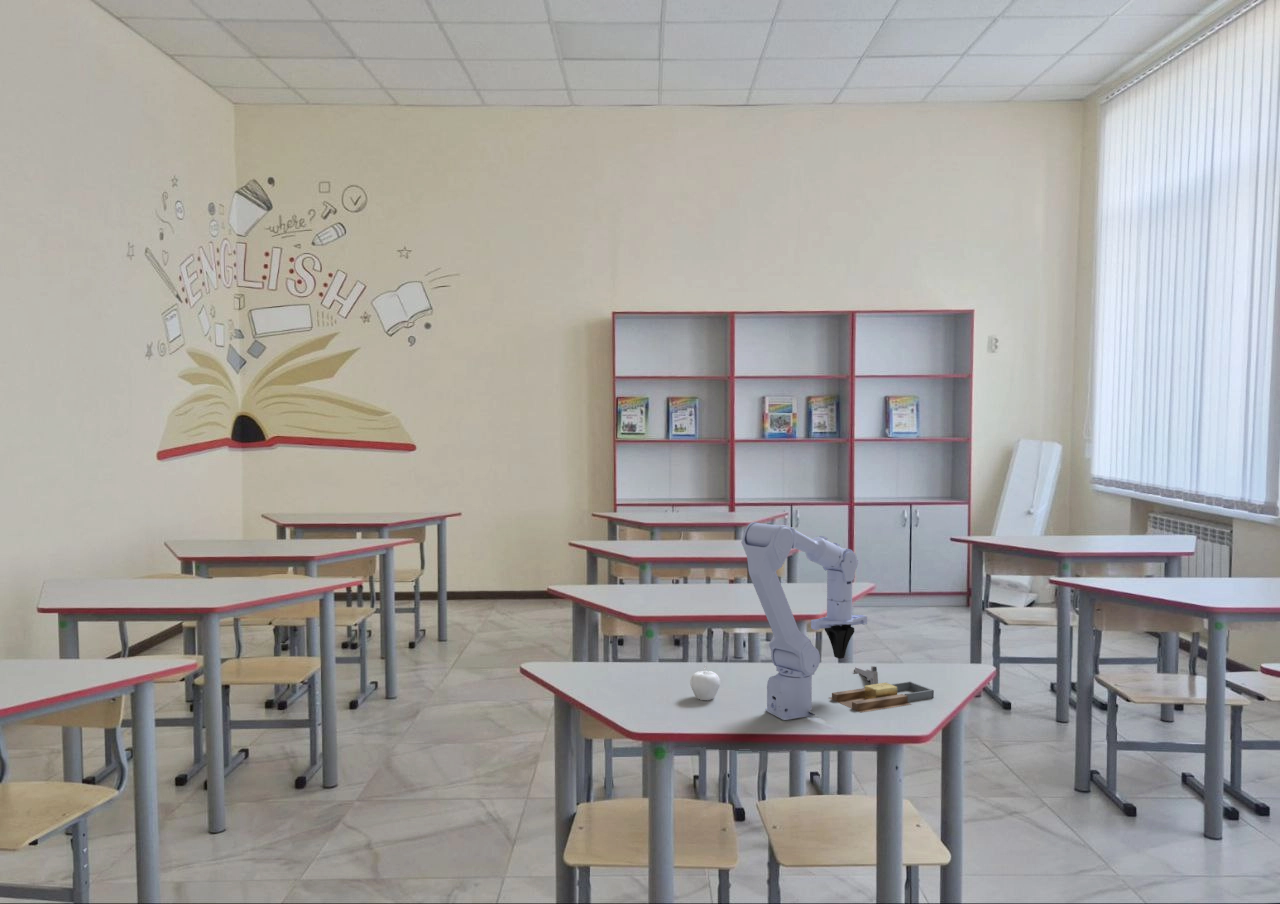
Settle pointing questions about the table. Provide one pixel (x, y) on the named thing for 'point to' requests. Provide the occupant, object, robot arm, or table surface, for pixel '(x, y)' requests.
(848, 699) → the slot board
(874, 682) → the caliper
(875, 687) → the block
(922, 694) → the tray
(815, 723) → the table surface
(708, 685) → the plain white apple
